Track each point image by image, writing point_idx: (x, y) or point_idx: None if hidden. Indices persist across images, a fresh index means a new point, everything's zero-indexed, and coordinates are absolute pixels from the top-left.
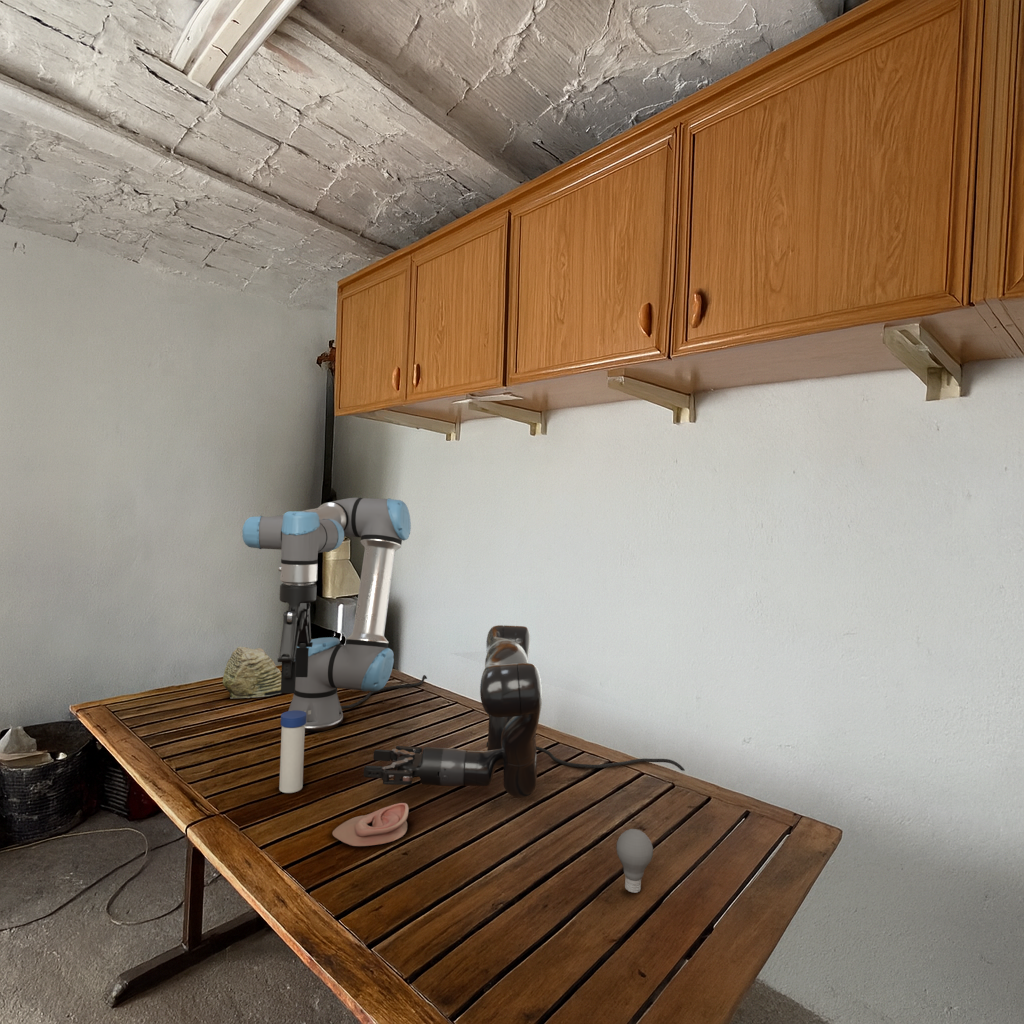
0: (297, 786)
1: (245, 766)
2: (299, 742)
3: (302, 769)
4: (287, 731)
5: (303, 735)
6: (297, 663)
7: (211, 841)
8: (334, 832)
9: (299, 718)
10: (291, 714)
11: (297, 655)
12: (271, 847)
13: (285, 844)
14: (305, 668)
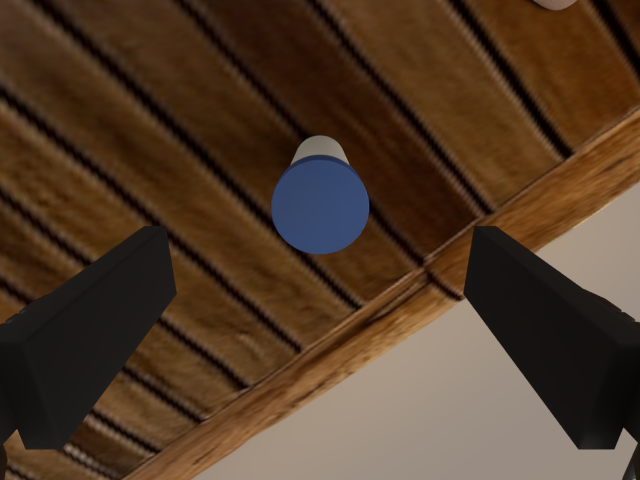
0: (338, 144)
1: (218, 282)
2: (343, 159)
3: (325, 140)
4: None
5: (327, 153)
6: (135, 330)
7: None
8: (568, 2)
9: (357, 177)
10: (320, 217)
11: (99, 376)
12: (572, 136)
13: (567, 111)
14: (141, 259)
